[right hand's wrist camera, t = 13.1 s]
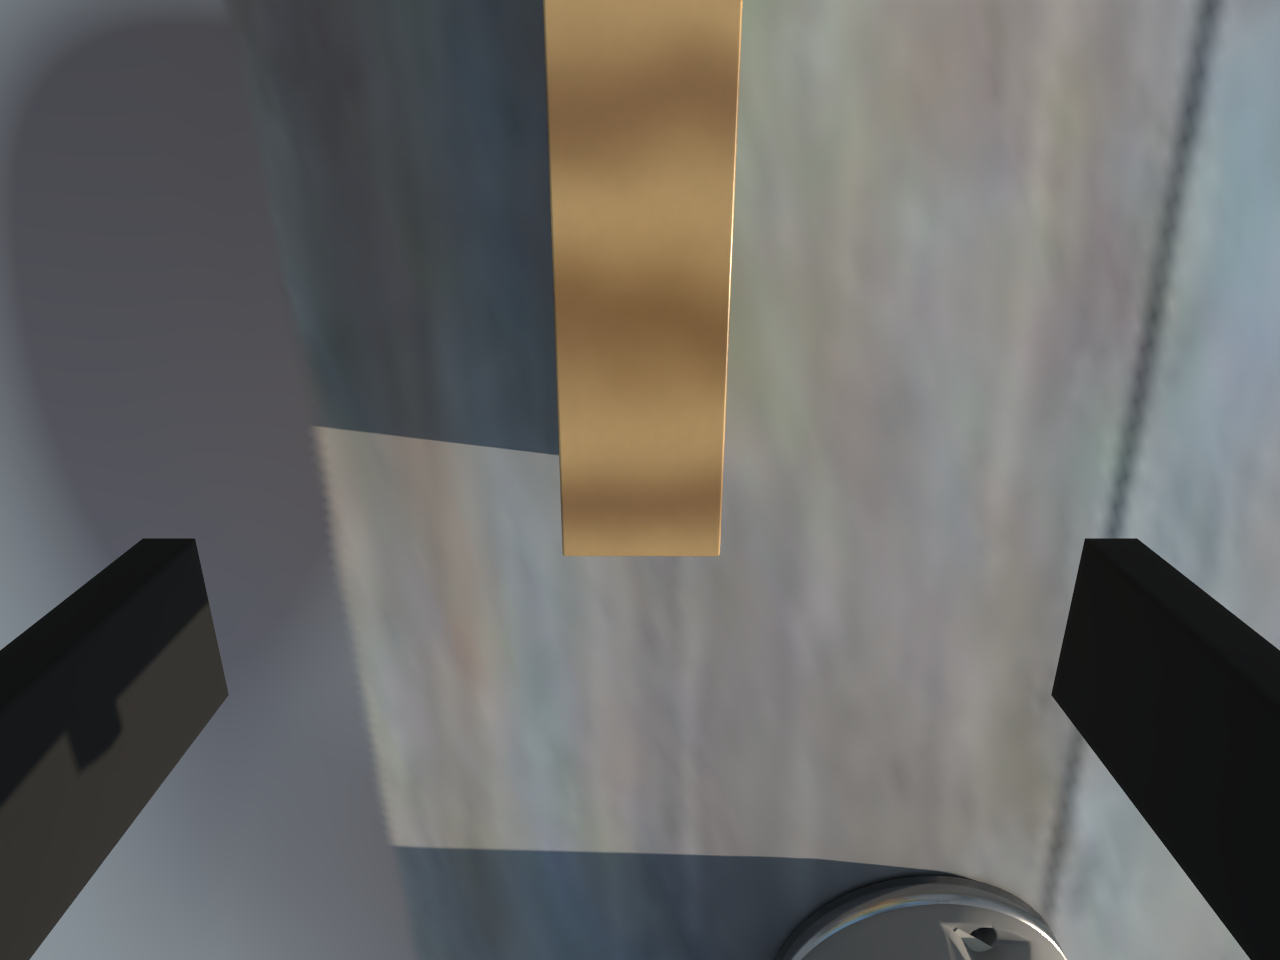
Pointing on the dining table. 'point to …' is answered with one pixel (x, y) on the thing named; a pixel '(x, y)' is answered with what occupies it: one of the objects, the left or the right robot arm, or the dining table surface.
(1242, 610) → the dining table surface
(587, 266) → the post
